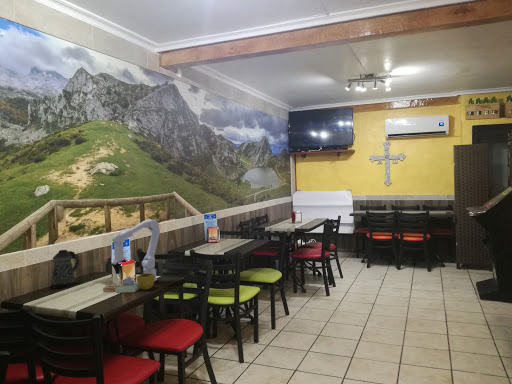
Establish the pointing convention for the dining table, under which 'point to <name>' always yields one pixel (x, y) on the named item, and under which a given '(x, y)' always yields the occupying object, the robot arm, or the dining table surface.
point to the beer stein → (64, 269)
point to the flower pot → (145, 280)
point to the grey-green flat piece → (128, 288)
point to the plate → (128, 281)
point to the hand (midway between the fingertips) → (120, 272)
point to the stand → (110, 288)
